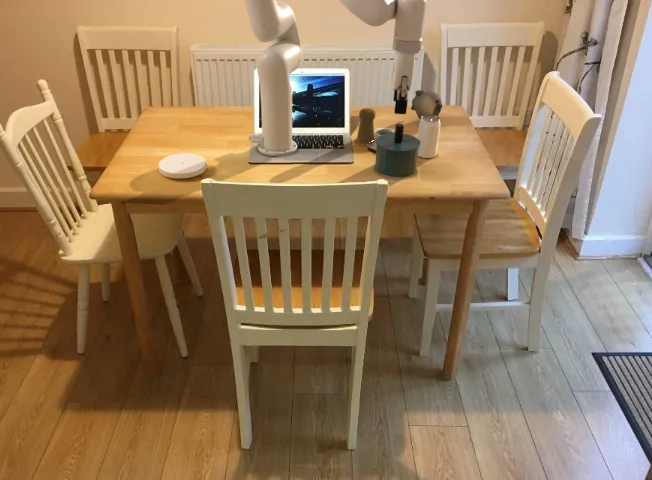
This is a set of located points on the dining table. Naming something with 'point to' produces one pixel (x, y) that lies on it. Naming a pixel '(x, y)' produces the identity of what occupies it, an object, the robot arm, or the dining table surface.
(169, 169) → the plastic lid
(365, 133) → the cork
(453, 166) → the dining table surface
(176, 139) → the dining table surface
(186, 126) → the dining table surface
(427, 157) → the can
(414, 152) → the pot
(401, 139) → the lid
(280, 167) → the dining table surface
